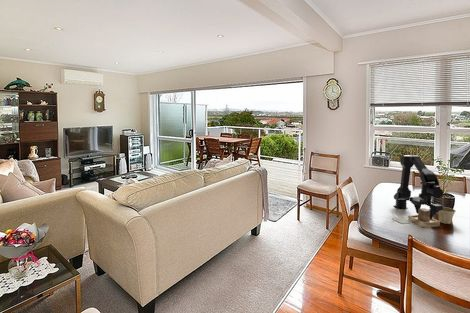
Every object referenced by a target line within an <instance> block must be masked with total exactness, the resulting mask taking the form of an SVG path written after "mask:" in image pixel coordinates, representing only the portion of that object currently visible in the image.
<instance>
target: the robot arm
mask: <svg viewBox="0 0 470 313" xmlns="http://www.w3.org/2000/svg"><path fill="white" fill-rule="evenodd" d="M399 163H400V166H401V167H402V168H401V169H402V171H401V177H400V178H401V179H400V186H399V187H398V188H397V189H396V193H395V194H394V195H393V199H394V200H395V205H393V207H394V208H397V209H399V210H404V209H408V207H407V201H409V202H410V203H411V204H412V205H413V206H414V208H415V212H416V215H418V211H419V209H421V207H422V206H424V205H425V206H427V207H429V209H428V210H430V219H432V218H433V219H434V217H435V216H436V214H438V211H441V210H443V207H444V206H443V205H441V204H439V203H434V201H433V197H434V198H436V199H439V198H442V197H443V196H444V190H443V189H441V186H440V181H439V179H438V177H437V174H435V172H433V171H432V170H430V169H429V168H428V167H427V166H426V165H425V163H424V162H423V160H422V159H421V157H420V155H402V156H401V157H400V159H399ZM413 167H415V169H416V170H417V171H418V172H419V176H418V177H419V178H420V180H421V181H420V185H421V190H420V191H421V193H420V192H419V193H418V196H412V194H411V193H412V191H411V190H410V188H409V185H410V176H411V169H412V168H413ZM433 203H434V204H433Z"/></svg>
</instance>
